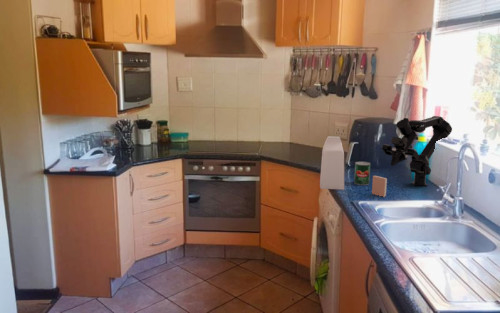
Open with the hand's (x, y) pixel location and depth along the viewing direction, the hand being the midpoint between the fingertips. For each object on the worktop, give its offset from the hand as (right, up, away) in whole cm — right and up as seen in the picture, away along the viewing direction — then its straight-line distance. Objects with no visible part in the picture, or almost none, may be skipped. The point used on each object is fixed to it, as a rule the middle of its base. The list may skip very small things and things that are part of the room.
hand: (391, 165), depth 218 cm
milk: (-27, -11, +14) cm, 32 cm away
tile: (-7, -14, -2) cm, 16 cm away
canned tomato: (-10, -10, +20) cm, 24 cm away
